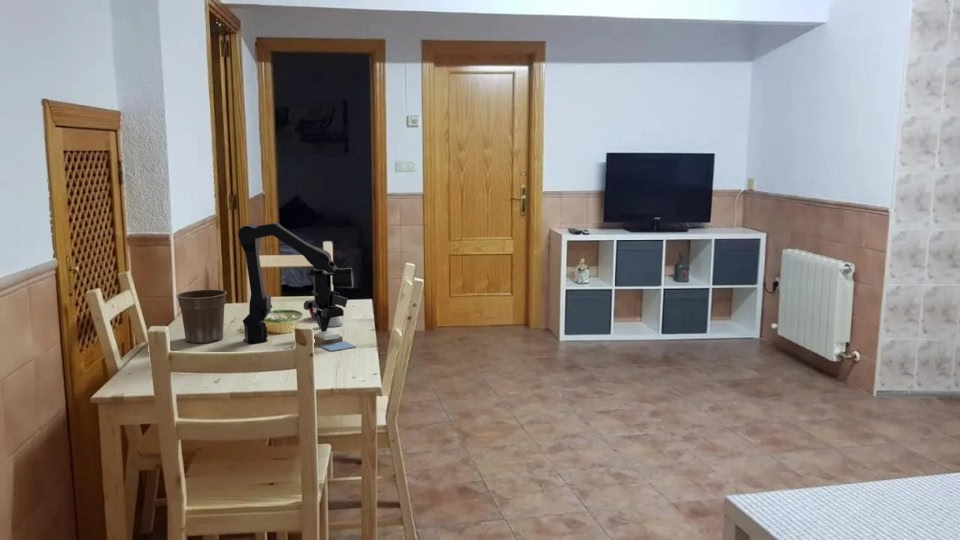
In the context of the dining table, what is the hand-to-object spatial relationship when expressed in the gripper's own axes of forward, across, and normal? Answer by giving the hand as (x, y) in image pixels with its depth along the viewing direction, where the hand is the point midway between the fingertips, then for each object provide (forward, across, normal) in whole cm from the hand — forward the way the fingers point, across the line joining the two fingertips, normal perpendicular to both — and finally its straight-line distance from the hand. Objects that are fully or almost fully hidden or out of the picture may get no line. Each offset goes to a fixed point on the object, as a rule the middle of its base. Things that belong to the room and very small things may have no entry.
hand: (324, 333), depth 259 cm
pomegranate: (+3, +32, -15) cm, 36 cm away
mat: (+3, -10, 0) cm, 11 cm away
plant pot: (+3, +26, +32) cm, 42 cm away
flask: (+3, +19, -13) cm, 23 cm away
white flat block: (+1, -4, 0) cm, 4 cm away
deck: (+3, -1, 0) cm, 3 cm away
